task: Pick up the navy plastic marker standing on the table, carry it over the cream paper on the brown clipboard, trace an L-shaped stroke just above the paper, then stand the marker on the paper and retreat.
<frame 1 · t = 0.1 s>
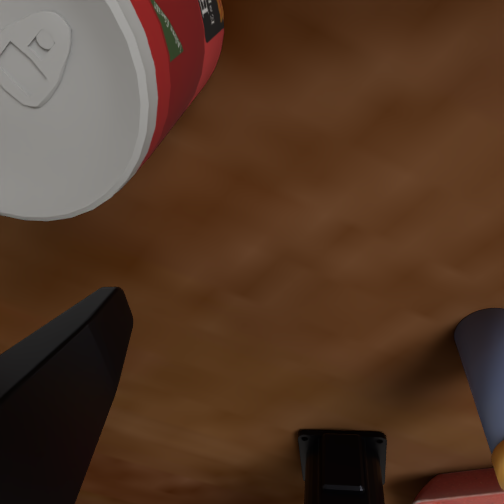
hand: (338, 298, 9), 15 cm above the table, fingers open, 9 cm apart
canned food: (142, 20, 20), on the table
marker: (489, 333, 28), on the table
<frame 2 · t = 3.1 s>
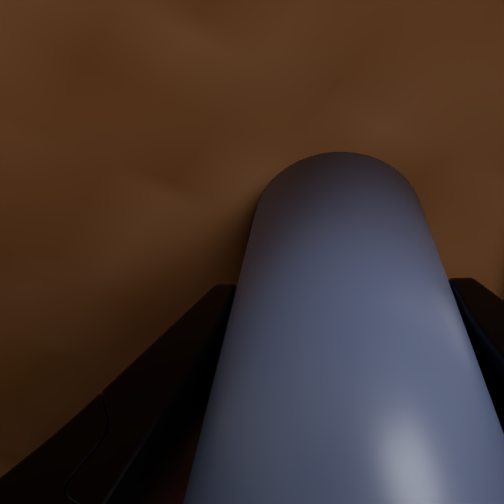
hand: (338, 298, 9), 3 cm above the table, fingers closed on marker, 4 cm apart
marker: (336, 230, 11), on the table, touching gripper
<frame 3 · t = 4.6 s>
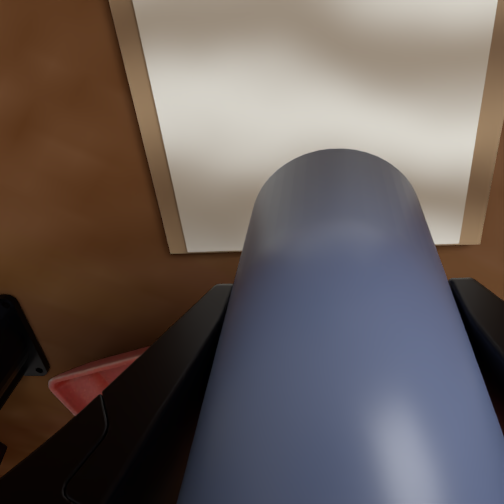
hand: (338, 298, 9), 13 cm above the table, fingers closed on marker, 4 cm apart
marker: (334, 227, 11), point 10 cm above the table, touching gripper
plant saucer: (249, 401, 31), on the table
clipboard: (309, 22, 18), on the table
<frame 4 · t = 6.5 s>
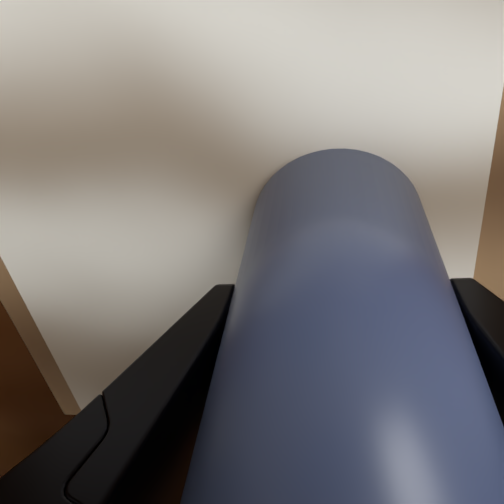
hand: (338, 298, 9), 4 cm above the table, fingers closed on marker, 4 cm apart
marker: (335, 227, 11), point 1 cm above the table, touching gripper
clipboard: (205, 145, 12), on the table
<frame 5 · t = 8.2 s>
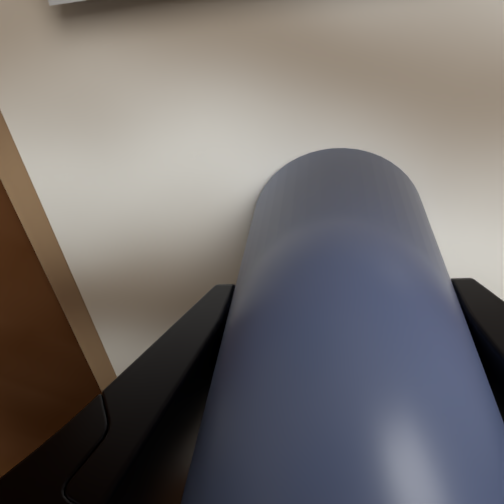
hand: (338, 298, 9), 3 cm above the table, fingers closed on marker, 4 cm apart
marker: (336, 227, 11), point 1 cm above the table, touching gripper
clipboard: (304, 298, 14), on the table
when the fingers open (4 cm above the table, at t = 10.0 s): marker stays where it is, resting on clipboard.
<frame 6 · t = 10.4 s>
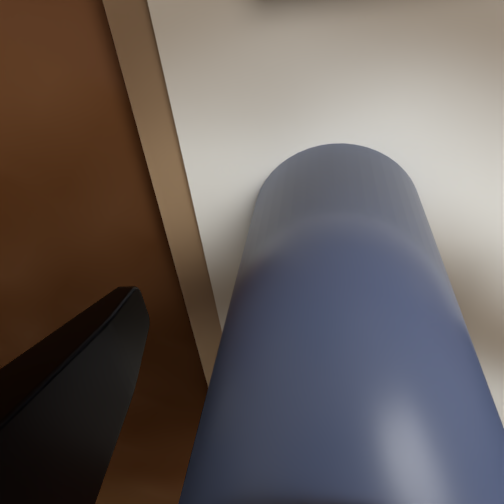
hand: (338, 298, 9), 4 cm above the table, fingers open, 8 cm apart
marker: (335, 221, 11), point 1 cm above the table, touching clipboard
clipboard: (446, 296, 13), on the table
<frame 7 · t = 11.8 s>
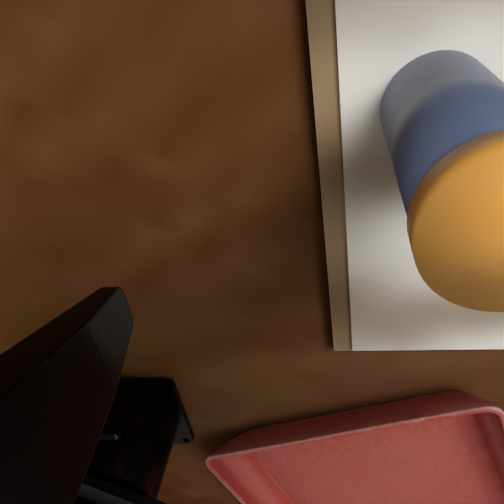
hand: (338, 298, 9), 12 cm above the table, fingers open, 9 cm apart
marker: (435, 107, 17), point 1 cm above the table, touching clipboard
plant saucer: (379, 465, 33), on the table
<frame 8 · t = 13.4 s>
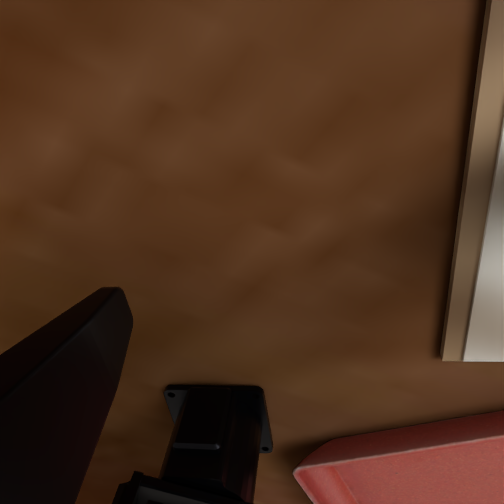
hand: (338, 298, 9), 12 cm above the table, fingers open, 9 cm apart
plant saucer: (458, 476, 33), on the table
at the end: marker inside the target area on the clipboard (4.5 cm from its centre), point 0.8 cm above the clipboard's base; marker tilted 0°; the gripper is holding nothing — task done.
